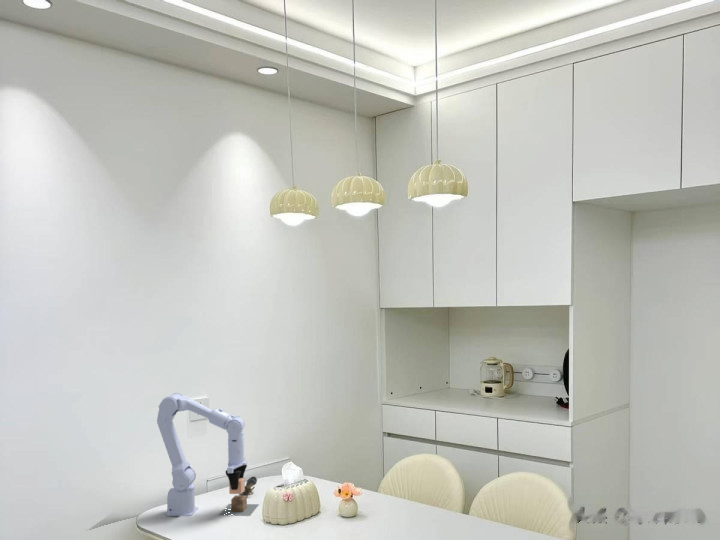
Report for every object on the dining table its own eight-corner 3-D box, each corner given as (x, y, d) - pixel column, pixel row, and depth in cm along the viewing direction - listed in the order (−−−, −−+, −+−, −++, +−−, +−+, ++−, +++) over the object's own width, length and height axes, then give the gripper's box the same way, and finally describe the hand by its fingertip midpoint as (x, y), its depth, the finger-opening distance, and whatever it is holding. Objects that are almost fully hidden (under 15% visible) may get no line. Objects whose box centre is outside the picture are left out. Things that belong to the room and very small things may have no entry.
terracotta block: (229, 493, 224) (229, 481, 224) (233, 489, 229) (233, 477, 229) (241, 494, 224) (241, 481, 224) (244, 490, 228) (244, 478, 228)
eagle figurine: (260, 494, 242) (261, 483, 250) (250, 480, 240) (251, 470, 249) (244, 505, 241) (246, 493, 250) (234, 491, 240) (235, 480, 249)
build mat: (218, 516, 222) (218, 515, 222) (228, 504, 234) (228, 503, 234) (250, 516, 220) (250, 515, 220) (259, 505, 232) (259, 504, 232)
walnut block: (231, 511, 225) (231, 499, 225) (235, 507, 229) (235, 495, 230) (243, 511, 225) (243, 499, 225) (246, 507, 229) (246, 495, 229)
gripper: (240, 455, 219) (241, 493, 219) (252, 445, 234) (252, 481, 233) (221, 455, 220) (222, 493, 220) (234, 445, 234) (235, 481, 234)
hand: (236, 487), depth 226 cm, fingers closed on terracotta block, 4 cm apart
